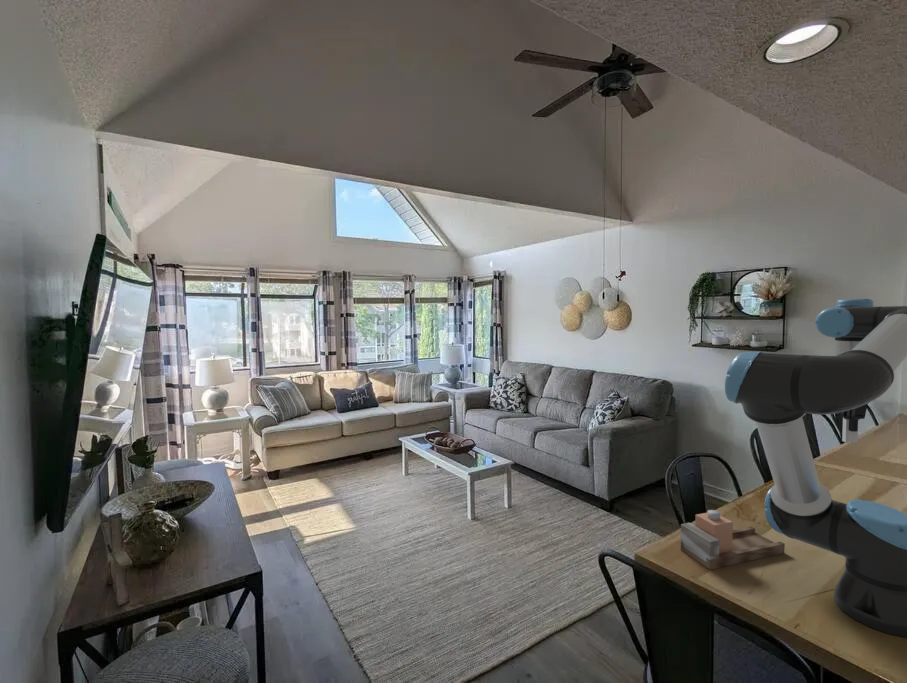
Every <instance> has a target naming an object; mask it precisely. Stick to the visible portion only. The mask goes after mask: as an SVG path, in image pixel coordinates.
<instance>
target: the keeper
mask: <svg viewBox="0 0 907 683" xmlns="http://www.w3.org/2000/svg"><path fill="white" fill-rule="evenodd" d="M733 524H734V523H733V521H732V520H730V519H728V518H726V517H724V516H722V515H721V512H719V511H718V510H715V509H708V510H707V512H703V513H698V514H697V513H696V514H695V524H694V526H696V527H698V528H700V529H701V530H703V531H705V532H706V533H708V534H710V535H711V536H713V537H715V538H716V539H718V540H719V554H724V553H729V552H732V533H733V530H734V529H733V528H734V526H733Z"/></svg>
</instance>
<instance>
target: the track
mask: <svg viewBox="0 0 907 683" xmlns="http://www.w3.org/2000/svg"><path fill="white" fill-rule="evenodd" d="M785 545H786V544H785V543H784V542H783V541H776V542H774V541H772V540H770V539H768V538H767V537H764V536H763V535H761V534H759V533H757V532H756V528H755V527H753V526H748V527H743V528H737V529H733V533H732V552H729V553H724V554H719V540H718V539H716V538H715V537H713V536H711V535H710V534H708V533H706V532H705V531H703V530H701V529H700V528H698V527H696V526H695V524H692V523H691V522H685V523H681V524H680V551H681V552H683V553H685V554H686V555H687V556H689V557H690V558H692V559H693V560H695V561H696V562H698V563H699V564H701V565H702V566H703V567H705V568H706V569H708V570H714V569H718V568H723V567H728V566H733V565H737V564H742V563H747V562H751V561H755V560H759V559H764V558H768V557H774V556H778V555H782V554H785Z"/></svg>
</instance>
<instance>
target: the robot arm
mask: <svg viewBox="0 0 907 683" xmlns="http://www.w3.org/2000/svg"><path fill="white" fill-rule="evenodd" d="M814 322H815V324H814V325H815V327H816V329H817V331H818V332H819V333H820V334H822V335H823V336H826V337H830V338H834V344H833V345H834V348H833V352H834V353H833V354H834V355H815V354H814V355H811V354H792V353H791V354H790V353H776V352H775V353H774V352H773V353H772V352H771V353H770V352H763V351H760V350H759V351H745V352H741V353H738V354H737V355H736V356H735V357H734V358H733V359H732V361H731V362H730V364H729V366H728V368H727V371H726V374H725V379H724V392H725V396H726V399H727V400H728V401H730V402H732V403H733V404H741V406H742V409H743V412H744V414H745V415H746V417H747V418H748V419H750V420H751V421H752V422H755V425H756V428H757V431H758V434H759V438H760V442H761V444H762V447H763V451H764V455H765V458H766V461H767V464H768V466H769V470H770V473H771V477H772V480H773V483H774V485H772V487H770V488H769V490H768V491H767V493H766V495H765V499H764V504H763V505H764V506H765V509H764V516H765V519H766V522H767V523H768V525H769V526H770V527H771V529H773V530H774V531H775V532H777V533H780V534H781V535H784V536H786V537H788V538H790V539H792V540H793V539H794V540H797V541H800V542H803V543H805V544H809V545H811V546H814V547H817V548H820V549H823V550H826V551H828V552H832V553H834V554H837V555H840V556H843V557H844V558H845V568H844V570H843V572H842V574H841V575H840V577H839V579H838V581H837V584H835V587H834V594H833V596H834V597H833V599H834V603H835V605H836V606H837V607H838V608H839V609H840V610H841V611H842V612H843V613H845V614H846V615H848V616H849V617H850V618H852V619H854V620H855V621H857V622H858V623H860V624H863V625H865V626H867V627H870V628H872V629H873V630H874V629H875V630H877V631H879V632H883V633H886V634H889V635H894V636H899V637H903V638H905V637H906V638H907V514H906V513H904V512H903V511H901V510H898V509H896V508H894V507H891V506H888V505H885V504H882V503H879V502H876V501H872V500H871V501H870V500H869V501H867V500H864V499H851V500H849V501H848V503H844V502H841V501H838V500H833V498H832V494H831V493H830V491H829V489H828V488H827V487H826V485H824V484H822V483H821V482H820V481H819V477H818V473H817V468H816V465H815V462H814V461H815V460H814V457H813V453H812V450H811V446H810V442H809V438H808V434H807V430H806V427H805V426H806V425H805V423H804V418H803V417H804V416H806V414H811V415H833V414H834V415H835V414H840V415H841V417H842V436H841V438H842V439H841V441H842V442H844V443H845V444H846V443H851V444H857V443H858V439H859V438H858V435H859V420H864V419H865V418H866V413H867V408H868V404H869V403H871V402H873V401H875V400H877V399H878V398H880V397H882V395H884V394H885V393H886V392H887V391H888V390H889V389H890V387H891V386H892V384H893V383H894V381H895V380H894V379H895V370H896V369H897V368H899V366H900V365H901V364H902V363H903V362H904V360H905V359H906V358H907V305H890V306H882V305H881V306H874V300H872V299H871V298H850V299H849V298H847V299H838V300H837V301H836V303H835V306H831V307H829V308H826V309H823V310H822V311H821V312H819V313H818V314H817V316H816V317H815V321H814Z"/></svg>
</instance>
